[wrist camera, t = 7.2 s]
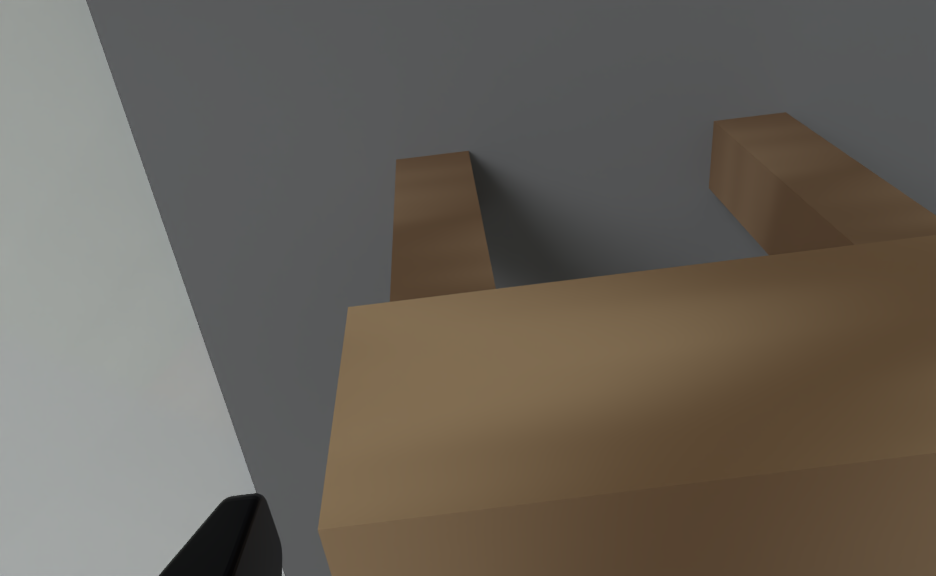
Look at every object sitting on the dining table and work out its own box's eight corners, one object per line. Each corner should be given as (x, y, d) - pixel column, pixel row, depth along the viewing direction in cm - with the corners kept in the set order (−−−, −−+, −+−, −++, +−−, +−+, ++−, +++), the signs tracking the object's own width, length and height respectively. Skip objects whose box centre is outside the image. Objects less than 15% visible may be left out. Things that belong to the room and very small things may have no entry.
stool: (810, 88, 10) (1346, 401, 4) (762, 422, 13) (1035, 861, 7) (371, 141, 10) (318, 530, 4) (428, 464, 13) (441, 939, 7)
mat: (1070, -189, 9) (1098, -191, 8) (877, 507, 15) (888, 522, 15) (74, -77, 9) (60, -74, 8) (294, 577, 15) (292, 594, 14)
